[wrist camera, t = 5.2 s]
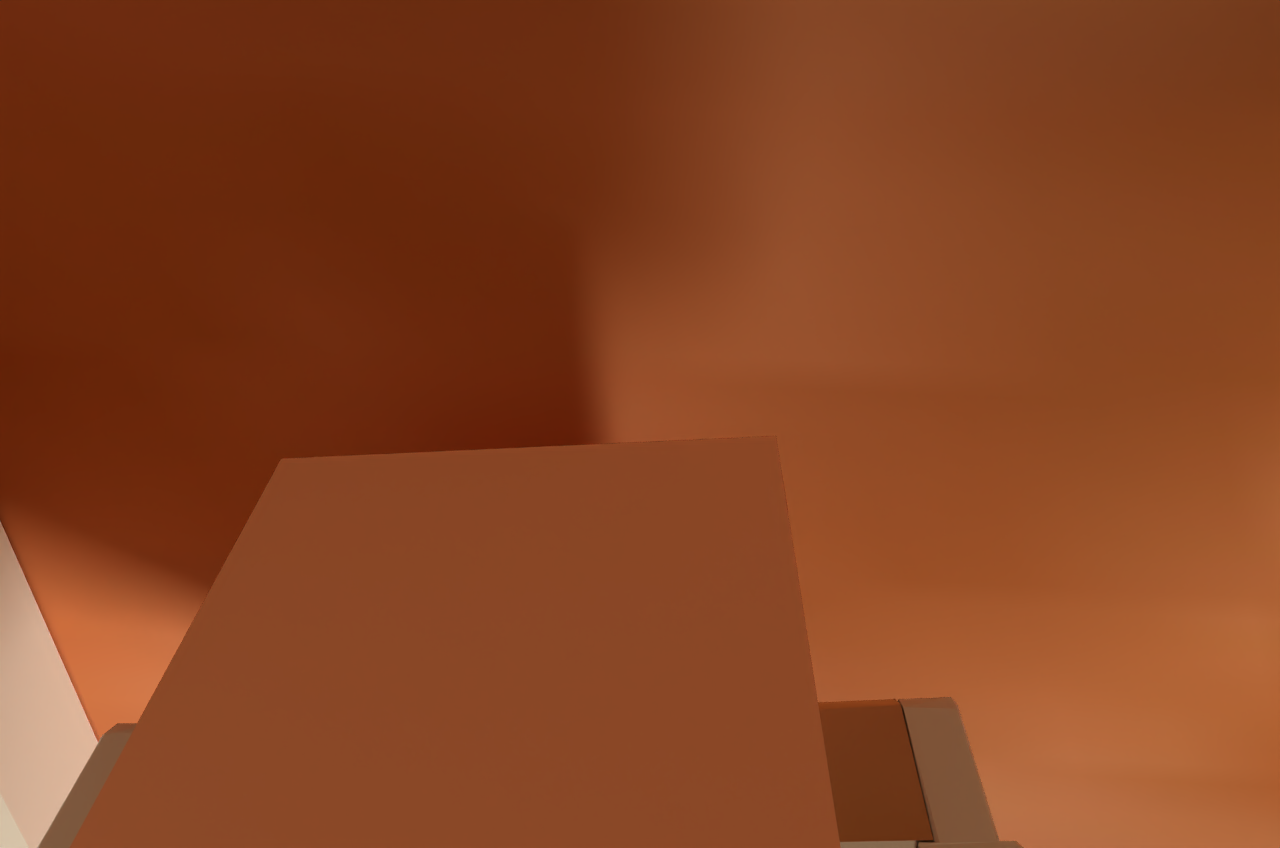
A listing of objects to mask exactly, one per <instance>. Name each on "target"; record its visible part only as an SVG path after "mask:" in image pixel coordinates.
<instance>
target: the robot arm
mask: <svg viewBox="0 0 1280 848" xmlns="http://www.w3.org/2000/svg"><path fill="white" fill-rule="evenodd" d="M818 706H819V713H820V719H821V725H822V732H823V738H824V745H825V751H826V757H827V764H828V770H829V776H830V783H831V789H832V796H833V802H834V808H835V815H836V821H837V828H838V834H839V840H840V847H841V848H1023V847H1022V846H1021V845H1020V844H1019V843H1018V842H1017V841H999V838H998V834H997V831H996V828H995V825H994V821H993V818H992V815H991V812H990V808H989V805H988V802H987V799H986V795H985V792H984V789H983V786H982V782H981V779H980V776H979V773H978V769H977V766H976V763H975V760H974V756H973V753H972V750H971V747H970V743H969V740H968V737H967V734H966V730H965V727H964V724H963V721H962V717H961V714H960V711H959V708H958V705H957V704H956V702H955V701H954V700H953V699H952V698H951V697H939V698H915V699H899V700H898V701H896V700H895V699H886V700H862V701H839V702H818ZM136 725H137V723H117V724H116V725H115V726H114V727H112V728H111V729H110V730H108V731H107V732H106V733H105V734H104V735H103V736H102V737H101V739H100V740H99V742H98V744H97V746H96V747H95V749H94V751H93V753H92V754H91V756H90V758H89V759H88V761H87V763H86V765H85V766H84V768H83V770H82V772H81V773H80V775H79V777H78V778H77V780H76V782H75V784H74V785H73V787H72V789H71V791H70V792H69V794H68V796H67V797H66V799H65V801H64V803H63V804H62V806H61V808H60V809H59V811H58V813H57V815H56V816H55V818H54V820H53V822H52V823H51V825H50V827H49V828H48V830H47V832H46V834H45V835H44V837H43V839H42V841H41V842H40V844H39V846H38V847H37V848H70V846H71V844H72V842H73V840H74V839H75V837H76V835H77V833H78V831H79V829H80V828H81V826H82V824H83V822H84V820H85V818H86V817H87V815H88V813H89V811H90V809H91V807H92V806H93V804H94V802H95V800H96V798H97V796H98V795H99V793H100V791H101V789H102V787H103V785H104V783H105V782H106V780H107V778H108V776H109V774H110V772H111V771H112V769H113V767H114V765H115V763H116V761H117V760H118V758H119V756H120V754H121V752H122V750H123V749H124V747H125V745H126V743H127V741H128V739H129V738H130V736H131V734H132V732H133V730H134V728H135V726H136Z"/></svg>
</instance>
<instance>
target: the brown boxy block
mask: <svg viewBox="0 0 1280 848" xmlns="http://www.w3.org/2000/svg"><path fill="white" fill-rule="evenodd" d="M70 848H841V847H840V840H839V834H838V828H837V821H836V815H835V808H834V802H833V796H832V789H831V783H830V776H829V770H828V764H827V757H826V751H825V745H824V738H823V732H822V725H821V719H820V713H819V706H818V700H817V694H816V687H815V681H814V674H813V668H812V662H811V655H810V649H809V643H808V636H807V630H806V623H805V617H804V611H803V604H802V598H801V592H800V585H799V579H798V572H797V566H796V560H795V553H794V547H793V540H792V534H791V528H790V521H789V515H788V509H787V502H786V496H785V489H784V483H783V477H782V470H781V464H780V458H779V451H778V445H777V438H776V436H762V437H740V438H719V439H697V440H675V441H653V442H631V443H610V444H588V445H566V446H544V447H522V448H501V449H479V450H457V451H435V452H413V453H392V454H370V455H348V456H326V457H305V458H283V459H281V460H280V462H279V464H278V465H277V467H276V469H275V471H274V473H273V475H272V476H271V478H270V480H269V482H268V484H267V486H266V487H265V489H264V491H263V493H262V495H261V497H260V499H259V500H258V502H257V504H256V506H255V508H254V510H253V511H252V513H251V515H250V517H249V519H248V521H247V522H246V524H245V526H244V528H243V530H242V532H241V533H240V535H239V537H238V539H237V541H236V543H235V544H234V546H233V548H232V550H231V552H230V554H229V555H228V557H227V559H226V561H225V563H224V565H223V567H222V568H221V570H220V572H219V574H218V576H217V578H216V579H215V581H214V583H213V585H212V587H211V589H210V590H209V592H208V594H207V596H206V598H205V600H204V601H203V603H202V605H201V607H200V609H199V611H198V612H197V614H196V616H195V618H194V620H193V622H192V624H191V625H190V627H189V629H188V631H187V633H186V635H185V636H184V638H183V640H182V642H181V644H180V646H179V647H178V649H177V651H176V653H175V655H174V657H173V658H172V660H171V662H170V664H169V666H168V668H167V669H166V671H165V673H164V675H163V677H162V679H161V681H160V682H159V684H158V686H157V688H156V690H155V692H154V693H153V695H152V697H151V699H150V701H149V703H148V704H147V706H146V708H145V710H144V712H143V714H142V715H141V717H140V719H139V721H138V723H137V725H136V726H135V728H134V730H133V732H132V734H131V736H130V738H129V739H128V741H127V743H126V745H125V747H124V749H123V750H122V752H121V754H120V756H119V758H118V760H117V761H116V763H115V765H114V767H113V769H112V771H111V772H110V774H109V776H108V778H107V780H106V782H105V783H104V785H103V787H102V789H101V791H100V793H99V795H98V796H97V798H96V800H95V802H94V804H93V806H92V807H91V809H90V811H89V813H88V815H87V817H86V818H85V820H84V822H83V824H82V826H81V828H80V829H79V831H78V833H77V835H76V837H75V839H74V840H73V842H72V844H71V846H70Z"/></svg>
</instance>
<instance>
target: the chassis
mask: <svg viewBox="0 0 1280 848" xmlns="http://www.w3.org/2000/svg"><path fill="white" fill-rule="evenodd" d="M97 744H98V742H97V739H96V737H95V735H94V733H93V730H92V728H91V726H90V723H89V721H88V719H87V717H86V714H85V712H84V710H83V708H82V705H81V703H80V701H79V699H78V696H77V694H76V692H75V689H74V687H73V685H72V683H71V680H70V678H69V676H68V674H67V671H66V669H65V667H64V664H63V662H62V660H61V658H60V655H59V653H58V651H57V649H56V646H55V644H54V642H53V639H52V637H51V635H50V633H49V630H48V628H47V626H46V624H45V621H44V619H43V617H42V615H41V612H40V610H39V608H38V605H37V603H36V601H35V599H34V596H33V594H32V592H31V590H30V587H29V585H28V583H27V580H26V578H25V576H24V574H23V571H22V569H21V567H20V565H19V562H18V560H17V558H16V556H15V553H14V551H13V549H12V546H11V544H10V542H9V540H8V537H7V535H6V533H5V531H4V528H3V526H2V524H1V521H0V848H37V847H38V846H39V844H40V842H41V841H42V839H43V837H44V835H45V834H46V832H47V830H48V828H49V827H50V825H51V823H52V822H53V820H54V818H55V816H56V815H57V813H58V811H59V809H60V808H61V806H62V804H63V803H64V801H65V799H66V797H67V796H68V794H69V792H70V791H71V789H72V787H73V785H74V784H75V782H76V780H77V778H78V777H79V775H80V773H81V772H82V770H83V768H84V766H85V765H86V763H87V761H88V759H89V758H90V756H91V754H92V753H93V751H94V749H95V747H96V746H97Z"/></svg>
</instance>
